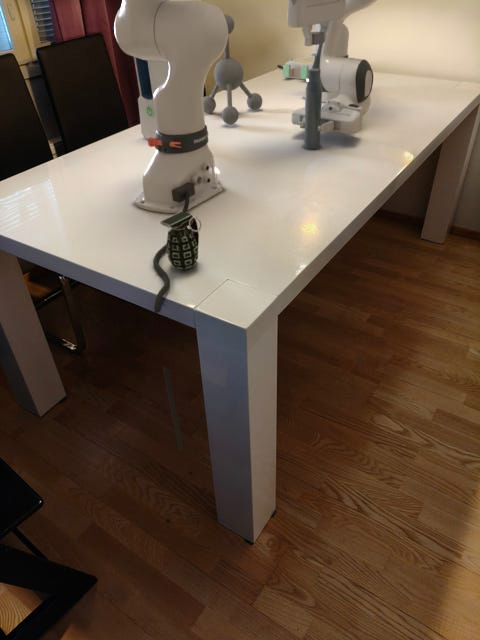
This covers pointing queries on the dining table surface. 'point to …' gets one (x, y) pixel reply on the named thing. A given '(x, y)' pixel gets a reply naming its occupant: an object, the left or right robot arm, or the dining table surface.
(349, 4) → the right robot arm
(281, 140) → the dining table surface
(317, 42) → the cap
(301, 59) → the decorative block
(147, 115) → the electronic device
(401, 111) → the dining table surface
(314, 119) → the bottle
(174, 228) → the grenade
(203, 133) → the left robot arm
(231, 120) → the molecular model
